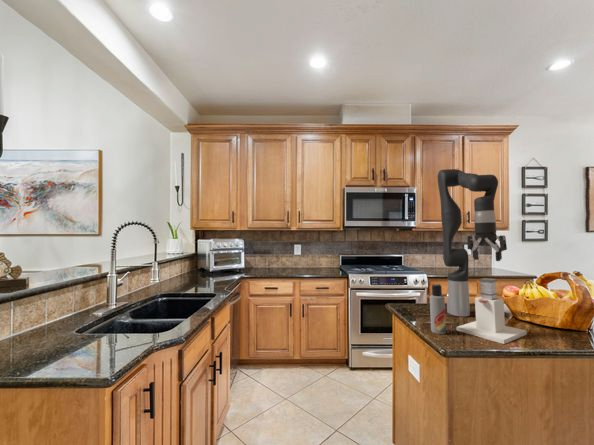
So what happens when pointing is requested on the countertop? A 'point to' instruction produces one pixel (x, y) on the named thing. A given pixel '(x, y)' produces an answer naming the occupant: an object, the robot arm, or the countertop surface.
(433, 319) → the lotion bottle
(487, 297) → the post
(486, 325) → the stand
